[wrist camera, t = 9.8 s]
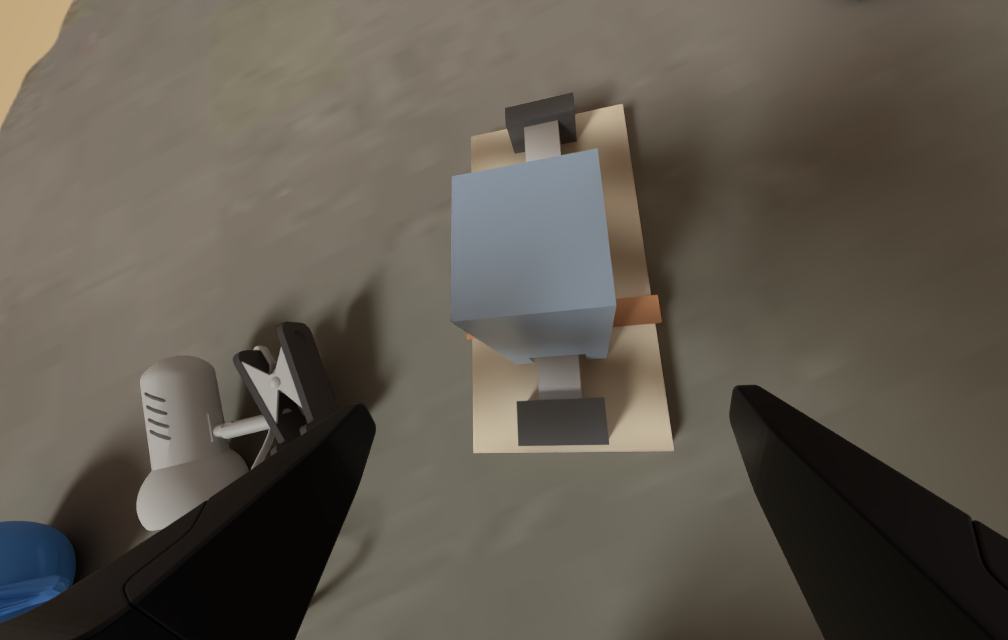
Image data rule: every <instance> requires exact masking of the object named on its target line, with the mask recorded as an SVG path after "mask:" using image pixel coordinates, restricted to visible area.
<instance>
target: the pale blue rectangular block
mask: <svg viewBox="0 0 1008 640" xmlns="http://www.w3.org/2000/svg"><path fill="white" fill-rule="evenodd" d="M615 311H616V298H615V289H614V281H613V273H612V264H611V256H610V248H609V239H608V231H607V223H606V214H605V206H604V198H603V189H602V181H601V173H600V164H599V156H598V148H596V149H591V150H586V151H581V152H576V153H571V154H565V155H560V156H555V157H550V158H545V159H540V160H534V161H529V162H524V163H519V164H514V165H509V166H504V167H498V168H493V169H488V170H483V171H478V172H473V173H468V174H462V175H457V176H452V229H451V322H452V323H453V324H455V325H456V326H458V327H459V328H461V329H463V330H464V331H466V332H467V333H469V334H470V335H472V336H473V337H475V338H476V339H478V340H479V341H481V342H483V343H484V344H486V345H487V346H489V347H490V348H492V349H493V350H495V351H496V352H498V353H499V354H501V355H503V356H504V357H506V358H507V359H509V360H510V361H512V362H513V363H515V364H531V363H535V359H534V358H536V357H550V356H565V355H579V354H586V360H592V359H606V358H607V353H608V347H609V342H610V337H611V332H612V326H613V321H614V316H615Z"/></svg>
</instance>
